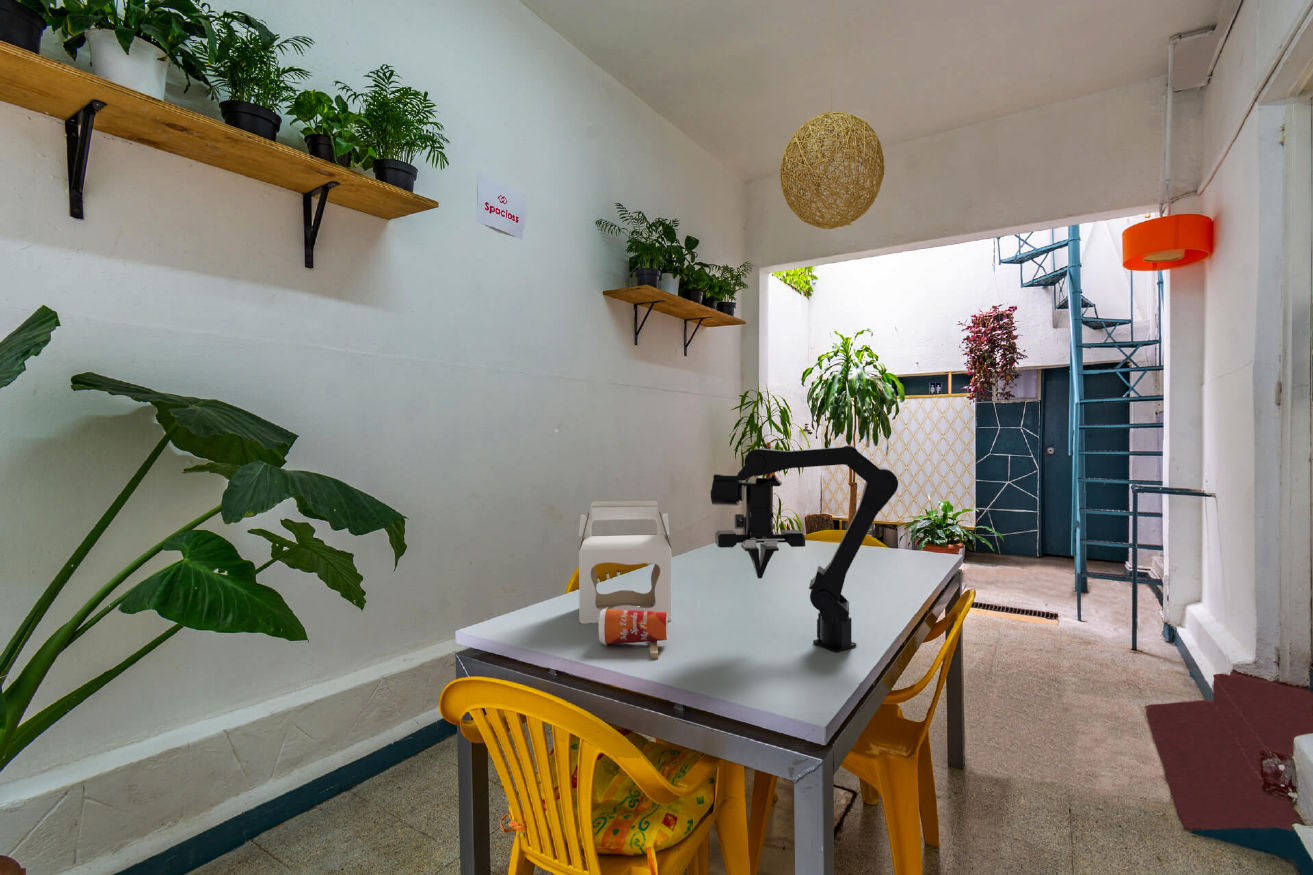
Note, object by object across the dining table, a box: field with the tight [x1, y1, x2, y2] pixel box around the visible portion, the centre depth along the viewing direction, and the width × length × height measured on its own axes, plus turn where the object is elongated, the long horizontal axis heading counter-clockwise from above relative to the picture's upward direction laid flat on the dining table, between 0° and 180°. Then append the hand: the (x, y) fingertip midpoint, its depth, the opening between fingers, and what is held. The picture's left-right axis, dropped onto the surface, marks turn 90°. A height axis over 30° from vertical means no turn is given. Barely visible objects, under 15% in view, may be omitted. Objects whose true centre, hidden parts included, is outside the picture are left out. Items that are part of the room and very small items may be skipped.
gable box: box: [578, 499, 673, 625], centre depth 148 cm, size 22×13×28 cm, turn 95°
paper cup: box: [597, 607, 669, 646], centre depth 126 cm, size 8×8×14 cm
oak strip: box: [649, 641, 659, 660], centre depth 125 cm, size 12×2×1 cm, turn 2°
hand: (759, 578), depth 130 cm, fingers closed
